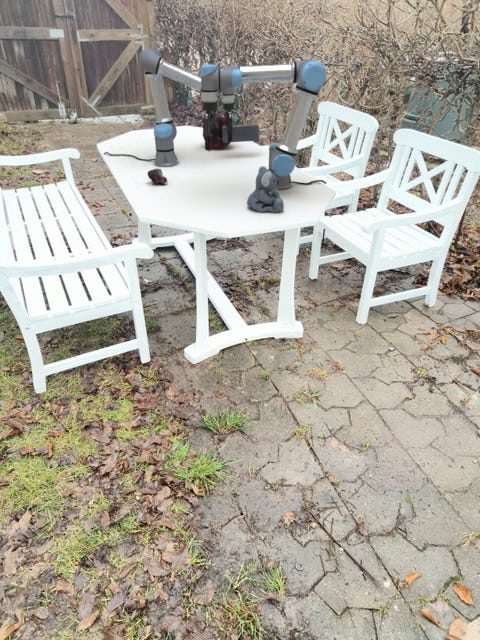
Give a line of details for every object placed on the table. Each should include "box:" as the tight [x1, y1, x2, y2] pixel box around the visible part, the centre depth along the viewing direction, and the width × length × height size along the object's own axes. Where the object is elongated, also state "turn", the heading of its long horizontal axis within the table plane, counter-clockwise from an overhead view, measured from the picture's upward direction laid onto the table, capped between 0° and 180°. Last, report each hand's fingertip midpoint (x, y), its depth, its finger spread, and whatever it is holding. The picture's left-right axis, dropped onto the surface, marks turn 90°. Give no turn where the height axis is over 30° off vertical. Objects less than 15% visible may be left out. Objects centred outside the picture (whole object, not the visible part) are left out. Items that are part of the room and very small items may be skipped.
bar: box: [222, 123, 260, 143], centre depth 298 cm, size 24×5×10 cm, turn 100°
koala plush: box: [246, 165, 285, 213], centre depth 222 cm, size 17×18×20 cm
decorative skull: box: [200, 116, 234, 152], centre depth 325 cm, size 21×24×25 cm
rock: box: [147, 168, 168, 185], centre depth 259 cm, size 12×9×10 cm
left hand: (229, 140), depth 299 cm, fingers closed on bar, 5 cm apart
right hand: (211, 146), depth 230 cm, fingers open, 13 cm apart
